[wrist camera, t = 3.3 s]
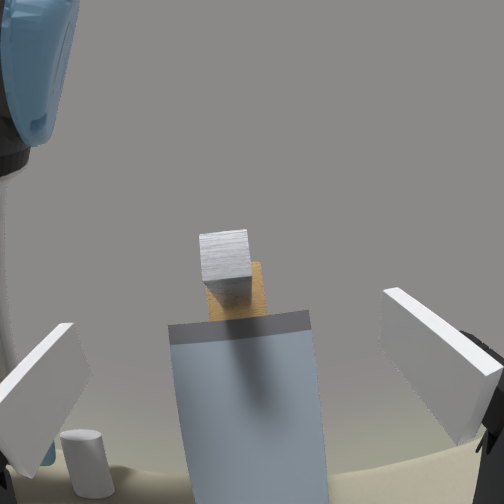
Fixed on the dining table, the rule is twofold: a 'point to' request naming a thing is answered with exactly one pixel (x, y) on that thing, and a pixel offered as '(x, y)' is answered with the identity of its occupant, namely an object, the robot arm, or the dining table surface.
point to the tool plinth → (250, 410)
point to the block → (231, 276)
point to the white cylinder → (87, 463)
